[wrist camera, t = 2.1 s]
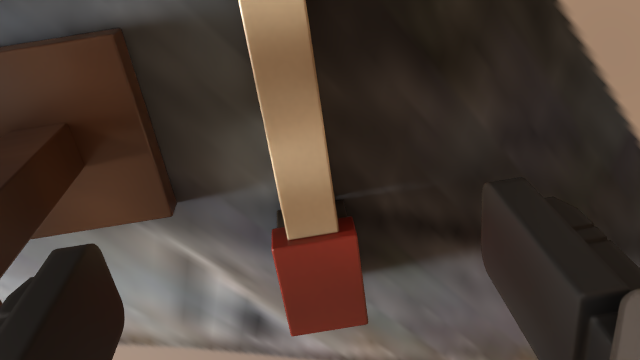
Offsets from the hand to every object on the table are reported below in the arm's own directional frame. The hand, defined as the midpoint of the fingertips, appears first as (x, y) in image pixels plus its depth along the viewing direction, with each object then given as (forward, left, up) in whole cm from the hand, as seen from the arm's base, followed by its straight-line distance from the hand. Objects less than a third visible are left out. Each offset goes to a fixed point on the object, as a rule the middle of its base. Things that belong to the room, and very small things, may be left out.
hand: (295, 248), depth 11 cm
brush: (+1, 0, -12) cm, 12 cm away
